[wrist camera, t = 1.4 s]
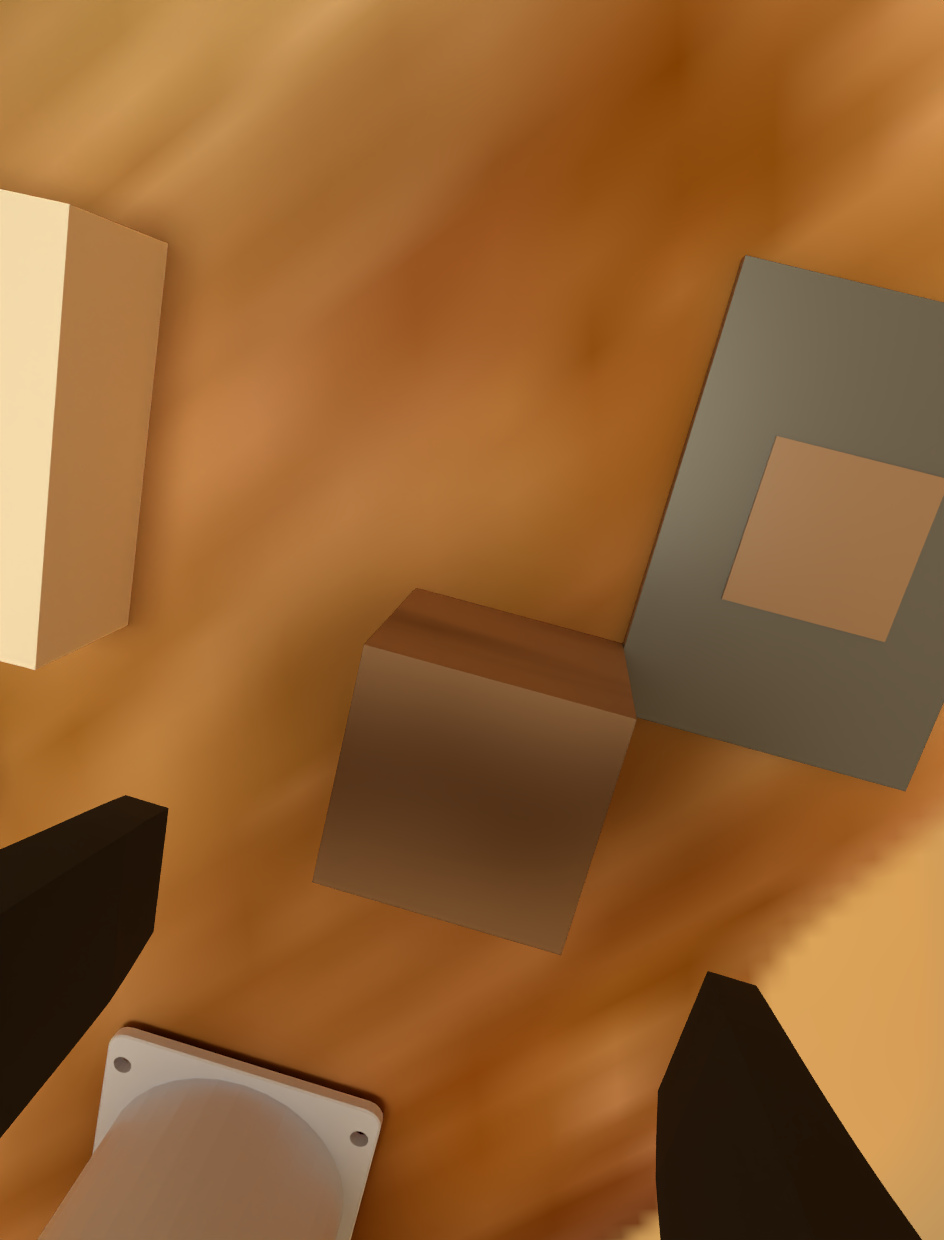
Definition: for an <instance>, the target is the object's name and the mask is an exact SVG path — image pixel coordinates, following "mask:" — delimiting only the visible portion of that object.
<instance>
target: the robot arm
mask: <svg viewBox="0 0 944 1240" xmlns="http://www.w3.org/2000/svg"><path fill="white" fill-rule="evenodd" d="M167 816H168V808H166V807H163V806H160V805H156V804H153V803H150V802H146V801H143V800H140V799H136V798H133V797H130V796H126V795H125V796H123V797H120V798H117V799H115V800H112V801H110V802H107V803H105V804H103V805H100V806H98V807H96V808H94V809H91V810H89V811H87V812H84V813H82V814H80V815H78V816H75V817H73V818H71V819H69V820H66V821H64V822H62V823H60V824H57V825H55V826H53V827H51V828H48V829H46V830H44V831H42V832H39V833H37V834H35V835H33V836H30V837H28V838H26V839H23V840H21V841H19V842H16V843H14V844H12V845H9V846H7V847H5V848H2V849H0V1138H1V1136H2V1135H3V1134H4V1133H5V1132H6V1130H7V1129H8V1128H9V1127H10V1125H11V1124H12V1123H13V1122H14V1120H15V1119H16V1118H17V1117H18V1115H19V1114H20V1113H21V1112H22V1111H23V1109H24V1108H25V1107H26V1106H27V1104H28V1103H29V1102H30V1101H31V1099H32V1098H33V1097H34V1096H35V1094H36V1093H37V1092H38V1091H39V1089H40V1088H41V1087H42V1086H43V1085H44V1083H45V1082H46V1081H47V1080H48V1078H49V1077H50V1076H51V1075H52V1073H53V1072H54V1071H55V1070H56V1068H57V1067H58V1066H59V1065H60V1064H61V1062H62V1061H63V1060H64V1059H65V1057H66V1056H67V1055H68V1054H69V1052H70V1051H71V1050H72V1049H73V1047H74V1046H75V1045H76V1044H77V1042H78V1041H79V1040H80V1039H81V1037H82V1036H83V1035H84V1034H85V1032H86V1031H87V1030H88V1029H89V1027H90V1026H91V1025H92V1023H93V1022H94V1021H95V1020H96V1018H97V1017H98V1016H99V1015H100V1013H101V1012H102V1011H103V1009H104V1008H105V1007H106V1006H107V1004H108V1003H109V1002H110V1000H111V999H112V997H113V996H114V994H115V993H116V991H117V989H118V988H119V986H120V985H121V983H122V982H123V980H124V979H125V977H126V976H127V974H128V972H129V971H130V969H131V968H132V966H133V964H134V963H135V961H136V959H137V958H138V956H139V955H140V953H141V951H142V950H143V948H144V946H145V945H146V943H147V941H148V940H149V938H150V937H151V935H152V933H153V931H154V922H155V914H156V906H157V898H158V890H159V882H160V873H161V865H162V857H163V849H164V841H165V833H166V824H167ZM123 1057H124V1058H125V1059H127V1060H128V1061H129V1062H128V1061H126V1060H124V1058H123ZM382 1122H383V1113H382V1111H381V1109H380V1108H379V1107H378V1106H377V1105H376V1104H375V1103H373V1102H371V1101H368V1100H365V1099H362V1098H359V1097H355V1096H352V1095H349V1094H346V1093H343V1092H339V1091H336V1090H333V1089H330V1088H326V1087H323V1086H320V1085H317V1084H314V1083H310V1082H307V1081H304V1080H301V1079H297V1078H294V1077H291V1076H288V1075H284V1074H281V1073H278V1072H275V1071H272V1070H268V1069H265V1068H262V1067H259V1066H255V1065H252V1064H249V1063H246V1062H243V1061H239V1060H236V1059H233V1058H230V1057H226V1056H223V1055H220V1054H217V1053H213V1052H210V1051H207V1050H204V1049H201V1048H197V1047H194V1046H191V1045H188V1044H184V1043H181V1042H178V1041H175V1040H172V1039H168V1038H165V1037H162V1036H159V1035H155V1034H152V1033H149V1032H146V1031H142V1030H139V1029H136V1028H132V1027H124V1028H121V1029H119V1030H118V1031H117V1032H116V1033H115V1035H114V1036H113V1037H112V1039H111V1040H110V1043H109V1046H108V1053H107V1060H106V1066H105V1073H104V1080H103V1087H102V1093H101V1100H100V1107H99V1113H98V1120H97V1127H96V1133H95V1140H94V1147H93V1154H92V1157H91V1158H90V1160H89V1161H88V1163H87V1164H86V1166H85V1167H84V1169H83V1170H82V1172H81V1173H80V1175H79V1177H78V1178H77V1180H76V1181H75V1183H74V1184H73V1186H72V1187H71V1189H70V1190H69V1192H68V1193H67V1195H66V1196H65V1198H64V1199H63V1201H62V1203H61V1204H60V1206H59V1207H58V1209H57V1210H56V1212H55V1213H54V1215H53V1216H52V1218H51V1219H50V1221H49V1222H48V1224H47V1225H46V1227H45V1228H44V1230H43V1232H42V1233H41V1235H40V1236H39V1238H38V1239H37V1240H351V1237H352V1233H353V1229H354V1226H355V1222H356V1218H357V1215H358V1211H359V1207H360V1203H361V1200H362V1196H363V1192H364V1189H365V1185H366V1181H367V1177H368V1174H369V1170H370V1166H371V1163H372V1159H373V1155H374V1151H375V1148H376V1144H377V1140H378V1137H379V1133H380V1129H381V1125H382ZM356 1131H360V1132H363V1133H364V1134H366V1135H362V1134H359V1133H357V1132H356ZM656 1188H657V1202H658V1214H659V1226H660V1238H661V1240H922V1239H921V1238H920V1237H919V1235H918V1234H917V1232H916V1231H915V1229H914V1228H913V1227H912V1225H911V1224H910V1223H909V1221H908V1220H907V1218H906V1217H905V1215H904V1214H903V1213H902V1211H901V1210H900V1208H899V1207H898V1206H897V1204H896V1203H895V1201H894V1200H893V1199H892V1197H891V1196H890V1194H889V1193H888V1192H887V1190H886V1189H885V1187H884V1186H883V1184H882V1183H881V1182H880V1180H879V1178H878V1177H877V1176H876V1174H875V1173H874V1171H873V1170H872V1168H871V1167H870V1165H869V1164H868V1162H867V1161H866V1159H865V1158H864V1156H863V1155H862V1153H861V1152H860V1150H859V1149H858V1148H857V1146H856V1144H855V1143H854V1141H853V1140H852V1138H851V1137H850V1135H849V1134H848V1132H847V1131H846V1129H845V1127H844V1126H843V1124H842V1123H841V1121H840V1120H839V1118H838V1117H837V1115H836V1114H835V1112H834V1111H833V1109H832V1107H831V1106H830V1104H829V1103H828V1101H827V1099H826V1098H825V1096H824V1095H823V1093H822V1091H821V1090H820V1088H819V1087H818V1085H817V1083H816V1082H815V1080H814V1079H813V1077H812V1075H811V1074H810V1072H809V1071H808V1069H807V1067H806V1066H805V1064H804V1062H803V1061H802V1059H801V1057H800V1056H799V1054H798V1053H797V1051H796V1049H795V1048H794V1046H793V1044H792V1043H791V1041H790V1039H789V1038H788V1036H787V1035H786V1033H785V1032H784V1030H783V1028H782V1026H781V1025H780V1023H779V1022H778V1020H777V1018H776V1017H775V1015H774V1013H773V1012H772V1010H771V1008H770V1007H769V1005H768V1003H767V1002H766V1000H765V999H764V997H763V996H762V994H761V992H760V991H759V989H758V988H757V986H755V985H752V984H749V983H745V982H742V981H739V980H736V979H732V978H729V977H726V976H722V975H719V974H716V973H712V972H709V971H708V972H707V974H706V976H705V979H704V981H703V984H702V986H701V989H700V991H699V993H698V996H697V998H696V1001H695V1003H694V1005H693V1008H692V1010H691V1013H690V1015H689V1017H688V1020H687V1022H686V1025H685V1027H684V1030H683V1032H682V1034H681V1037H680V1039H679V1042H678V1044H677V1046H676V1049H675V1051H674V1054H673V1056H672V1058H671V1061H670V1063H669V1066H668V1068H667V1070H666V1073H665V1075H664V1078H663V1080H662V1083H661V1085H660V1087H659V1090H658V1107H657V1135H656Z"/></svg>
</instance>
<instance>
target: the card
mask: <svg viewBox="0 0 944 1240" xmlns="http://www.w3.org/2000/svg"><path fill="white" fill-rule="evenodd" d="M623 648H624V654H625V659H626V664H627V670H628V675H629V680H630V686H631V691H632V696H633V702H634V707H635V712H636V717H637V718H641V719H644V720H648V721H652V722H655V723H659V724H663V725H666V726H670V727H674V728H677V729H681V730H684V731H688V732H692V733H695V734H699V735H703V736H706V737H710V738H714V739H717V740H721V741H724V742H728V743H732V744H735V745H739V746H743V747H746V748H750V749H753V750H757V751H761V752H764V753H768V754H772V755H775V756H779V757H783V758H786V759H790V760H793V761H797V762H801V763H804V764H808V765H812V766H815V767H819V768H823V769H826V770H830V771H833V772H837V773H841V774H844V775H848V776H852V777H855V778H859V779H862V780H866V781H870V782H873V783H877V784H881V785H884V786H888V787H892V788H895V789H899V790H902V791H906V789H907V787H908V784H909V782H910V780H911V777H912V775H913V773H914V770H915V768H916V766H917V763H918V761H919V759H920V756H921V754H922V752H923V749H924V747H925V745H926V742H927V740H928V738H929V735H930V733H931V731H932V728H933V726H934V724H935V721H936V719H937V717H938V714H939V712H940V710H941V708H942V705H943V703H944V303H943V302H939V301H935V300H931V299H927V298H922V297H918V296H914V295H910V294H906V293H901V292H897V291H893V290H889V289H885V288H880V287H876V286H872V285H868V284H864V283H860V282H855V281H851V280H847V279H843V278H839V277H834V276H830V275H826V274H822V273H818V272H813V271H809V270H805V269H801V268H797V267H793V266H788V265H784V264H780V263H776V262H772V261H767V260H763V259H759V258H755V257H751V256H747V255H745V256H744V257H743V258H742V260H741V263H740V267H739V270H738V273H737V276H736V280H735V283H734V286H733V289H732V293H731V296H730V299H729V302H728V306H727V309H726V312H725V315H724V318H723V322H722V325H721V328H720V331H719V335H718V338H717V341H716V344H715V348H714V351H713V354H712V357H711V361H710V364H709V367H708V370H707V374H706V377H705V380H704V383H703V387H702V390H701V393H700V396H699V400H698V403H697V406H696V409H695V412H694V416H693V419H692V422H691V425H690V429H689V432H688V435H687V438H686V442H685V445H684V448H683V451H682V455H681V458H680V461H679V464H678V468H677V471H676V474H675V477H674V481H673V484H672V487H671V490H670V493H669V497H668V500H667V503H666V506H665V510H664V513H663V516H662V519H661V523H660V526H659V529H658V532H657V536H656V539H655V542H654V545H653V549H652V552H651V555H650V558H649V562H648V565H647V568H646V571H645V575H644V578H643V581H642V584H641V587H640V591H639V594H638V597H637V600H636V604H635V607H634V610H633V613H632V617H631V620H630V623H629V626H628V630H627V633H626V636H625V639H624V643H623Z"/></svg>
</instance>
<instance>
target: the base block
mask: <svg viewBox="0 0 944 1240" xmlns="http://www.w3.org/2000/svg"><path fill="white" fill-rule="evenodd" d="M167 251H168V243H166V242H163V241H161V240H158V239H156V238H153V237H151V236H148V235H146V234H143V233H141V232H138V231H136V230H133V229H131V228H128V227H126V226H123V225H121V224H118V223H116V222H113V221H111V220H108V219H106V218H103V217H101V216H98V215H96V214H93V213H91V212H88V211H86V210H83V209H81V208H78V207H76V206H73V205H71V204H67V203H62V202H58V201H53V200H48V199H44V198H39V197H34V196H30V195H25V194H21V193H16V192H11V191H7V190H2V189H0V661H2V662H6V663H10V664H14V665H18V666H22V667H26V668H30V669H34V670H36V669H38V668H40V667H42V666H44V665H46V664H48V663H51V662H53V661H55V660H57V659H59V658H61V657H63V656H65V655H67V654H69V653H71V652H73V651H76V650H78V649H80V648H82V647H84V646H86V645H88V644H90V643H92V642H94V641H96V640H98V639H101V638H103V637H105V636H107V635H109V634H111V633H113V632H115V631H117V630H119V629H121V628H123V627H125V626H128V620H129V610H130V601H131V591H132V582H133V572H134V563H135V553H136V544H137V535H138V525H139V516H140V506H141V497H142V487H143V478H144V468H145V459H146V450H147V440H148V431H149V421H150V412H151V402H152V393H153V383H154V374H155V365H156V355H157V346H158V336H159V327H160V317H161V308H162V298H163V289H164V279H165V270H166V261H167Z"/></svg>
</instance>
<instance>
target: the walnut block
mask: <svg viewBox="0 0 944 1240" xmlns="http://www.w3.org/2000/svg"><path fill="white" fill-rule="evenodd" d="M636 720H637V718H636V712H635V707H634V702H633V696H632V691H631V686H630V680H629V675H628V670H627V664H626V659H625V654H624V648H623V644H622V643H618V642H615V641H611V640H607V639H604V638H600V637H596V636H592V635H589V634H585V633H581V632H578V631H574V630H570V629H566V628H563V627H559V626H555V625H552V624H548V623H544V622H540V621H537V620H533V619H529V618H526V617H522V616H518V615H515V614H511V613H507V612H503V611H500V610H496V609H492V608H489V607H485V606H481V605H477V604H474V603H470V602H466V601H463V600H459V599H455V598H452V597H448V596H444V595H440V594H437V593H433V592H429V591H426V590H422V589H418V588H416V589H415V590H414V591H413V592H412V593H411V594H410V595H409V596H408V597H407V599H406V600H405V601H404V602H403V603H402V604H401V605H400V606H399V607H398V608H397V609H396V610H395V611H394V613H393V614H392V615H391V616H390V617H389V618H388V619H387V620H386V621H385V622H384V623H383V624H382V626H381V627H380V628H379V629H378V630H377V631H376V632H375V633H374V634H373V635H372V636H371V637H370V639H369V640H368V641H367V642H366V643H365V644H364V647H363V651H362V656H361V661H360V665H359V670H358V674H357V679H356V684H355V688H354V693H353V697H352V702H351V706H350V711H349V716H348V720H347V725H346V729H345V734H344V739H343V743H342V748H341V752H340V757H339V762H338V766H337V771H336V775H335V780H334V785H333V789H332V794H331V798H330V803H329V807H328V812H327V817H326V821H325V826H324V830H323V835H322V840H321V844H320V849H319V853H318V858H317V863H316V867H315V872H314V876H313V881H312V882H313V883H317V884H320V885H324V886H327V887H330V888H334V889H337V890H341V891H344V892H347V893H351V894H354V895H358V896H361V897H364V898H368V899H371V900H375V901H378V902H381V903H385V904H388V905H392V906H395V907H398V908H402V909H405V910H409V911H412V912H415V913H419V914H422V915H426V916H429V917H432V918H436V919H439V920H443V921H446V922H449V923H453V924H456V925H460V926H463V927H467V928H470V929H473V930H477V931H480V932H484V933H487V934H490V935H494V936H497V937H501V938H504V939H507V940H511V941H514V942H518V943H521V944H524V945H528V946H531V947H535V948H538V949H541V950H545V951H548V952H552V953H555V954H558V955H561V954H562V951H563V948H564V945H565V941H566V938H567V935H568V932H569V929H570V926H571V923H572V920H573V917H574V913H575V910H576V907H577V904H578V901H579V898H580V895H581V892H582V889H583V885H584V882H585V879H586V876H587V873H588V870H589V867H590V864H591V861H592V857H593V854H594V851H595V848H596V845H597V842H598V839H599V836H600V833H601V829H602V826H603V823H604V820H605V817H606V814H607V811H608V808H609V804H610V801H611V798H612V795H613V792H614V789H615V786H616V783H617V780H618V776H619V773H620V770H621V767H622V764H623V761H624V758H625V755H626V752H627V748H628V745H629V742H630V739H631V736H632V733H633V730H634V727H635V724H636Z"/></svg>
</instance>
